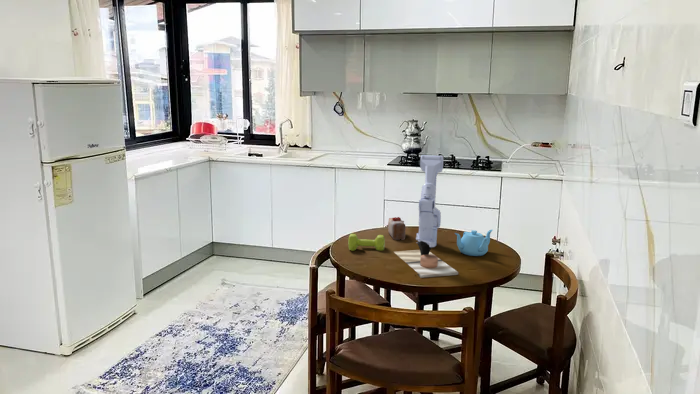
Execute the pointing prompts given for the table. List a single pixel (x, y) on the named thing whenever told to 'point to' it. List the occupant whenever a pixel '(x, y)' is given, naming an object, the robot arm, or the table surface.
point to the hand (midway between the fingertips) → (424, 258)
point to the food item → (396, 228)
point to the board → (414, 262)
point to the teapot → (473, 243)
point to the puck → (429, 261)
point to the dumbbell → (366, 242)
